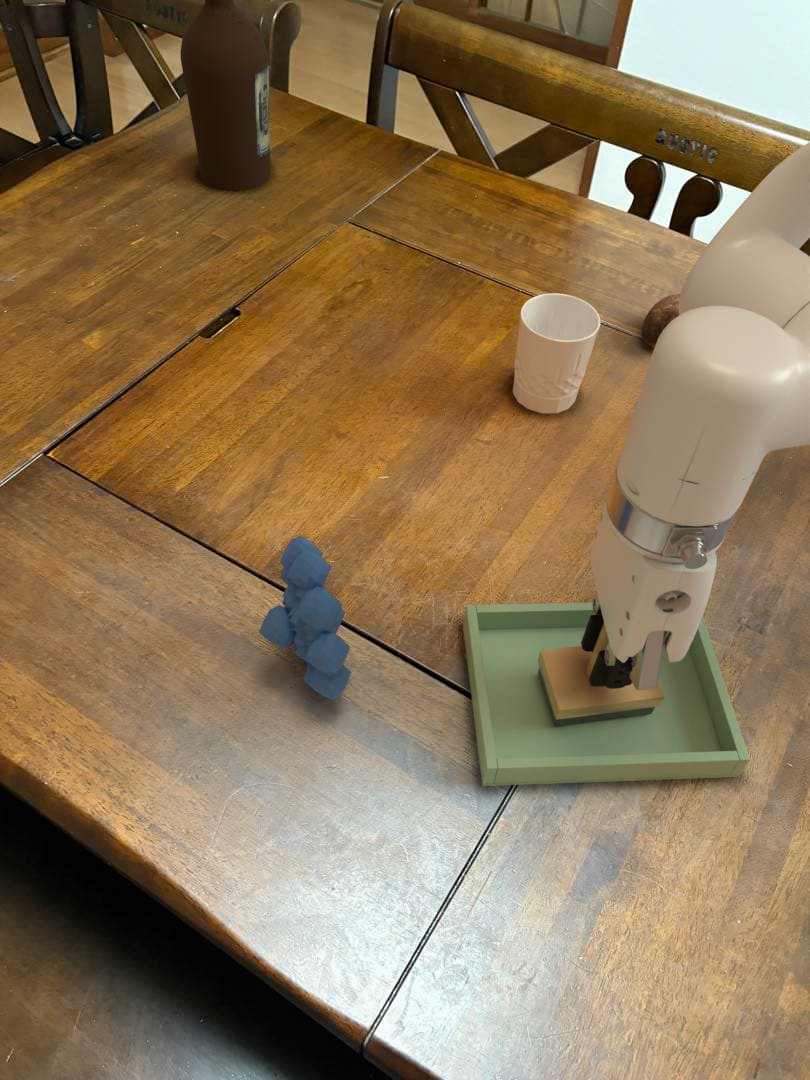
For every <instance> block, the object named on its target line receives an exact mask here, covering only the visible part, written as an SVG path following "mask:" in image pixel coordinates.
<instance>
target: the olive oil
mask: <svg viewBox="0 0 810 1080" xmlns="http://www.w3.org/2000/svg"><path fill="white" fill-rule="evenodd" d="M180 63H181V70H182V76H183V80H184V85H185V90H186V96H187V101H188V108H189V113H190V117H191V118H190V119H191V124H192V130H193V136H194V142H195V148H196V155H197V161H198V168H199V174H200V178H201V180H202V181H203V182H204V183H205V184H206V185H208V186H209V187H211V188H213V189H216V190H220V191H227V192H244V191H249V190H253V189H257V188H259V187H261V186H263V185H264V184H266V183H267V182H268V181H269V180H270V178H271V175H272V173H271V172H272V171H271V170H272V169H271V166H272V165H271V164H272V163H271V138H270V136H271V135H270V134H271V132H270V129H271V128H270V59H269V53H268V48H267V44H266V42H265V40H264V36H263V35H262V33H261V31H260V29H258V27H257V26H256V25H255V23H253V22H252V20H250V18H249V17H247V15H246V14H244V12H243V11H242V10H241V9H240V8H239V7H238V6H237V5H236V3H235V1H234V0H204V4H203V6H202V7H201V8H200V10H199V11H198V13H197V14H196V15H195V16H194V18H193V19H192V21H190V23H189V24H188V26H187V27H186V29H185V31H184V33H183V35H182V39H181V45H180Z"/></svg>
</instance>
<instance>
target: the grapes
mask: <svg viewBox="0 0 810 1080" xmlns="http://www.w3.org/2000/svg"><path fill="white" fill-rule="evenodd" d="M323 554H324V552H323V551H322V550H321V549H320V548H319V547H318V546H317V545H316V544H314V543H313V542H312V541H311V540H309V539H308V538H306V537H304V536H301V535H298V536H296V537H295V538H293V539H291V540H290V541H289V542H288V544H287V546H286V547H285V549H284V551H283V554H282V556H281V559H280V561H279V563H280V564H281V565H282V566H283V568H282V571H281V573H280V576H279V579H280V580H282V581H283V582H284V583H285V585H287V586H286V588H285V589H284V592H283V594H282V598H283V599H282V602H281V604H283V606H282V605H280V604H278V605H276V606H273V607H272V608H270V609H269V611H268V612H267V614H266V615H265V617H264V619H263V621H262V624H261V626H260V630H259V634H260V635H261V636H263V637H264V638H265V639H266V640H267V641H268V642H269V643H270V644H271V645H274V646H276V647H278V648H280V649H283V650H284V649H287V648H289V647H290V646H292V645H293V646H294V649H293V653H294V654H295V655H296V656H297V657H298V658H300V659H302V660H303V661H304V662H305V663H306V668H307V669H306V672H305V674H304V677H303V681H304V683H306V685H308V686H309V687H310V688H311V689H312V690H314V691H315V692H316V693H318V694H319V695H320V696H322V697H324V698H326V699H328V700H331V701H333V700H337V699H338V698H340V696H341V695H342V694H343V693H344V691H345V689H346V688H347V685H348V682H349V679H350V677H351V674H352V672H351V670H349V668H347V667H346V666H345V665H344V664H345V663H346V659H347V657H348V654H349V652H350V649H351V646H350V645H349V644H348V643H347V641H345V640H344V639H343V638H342V637H340V636H339V634H337V633H338V631H339V629H340V627H341V624H342V622H343V620H344V617H345V614H346V611H345V610H344V608H343V603H342V602H341V601H340V600H339V599H338V598H337V597H336V596H335V595H334V594H332V592H330V591H328V590H327V589H326V586H325V585H324V584H325V583H326V581H327V579H328V576H329V573H330V571H331V570H332V566H331V564H330V563H329V562H328V561H327V560H326V559H324V557H323Z"/></svg>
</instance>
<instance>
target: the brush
mask: <svg viewBox="0 0 810 1080" xmlns="http://www.w3.org/2000/svg"><path fill="white" fill-rule="evenodd" d="M608 641H609V639H608V635H607V631H606V627H605V624H604V623H603V626H602V628H601V631H600V634H599V636H598V639H597V642H596V644H595V647H594V650H593V652H586V651H585V650H583V649H582V646H574V647H566V648H557V649H549V650H541V651H540V654H539V658H538V663H539V670H538V676H539V679H540V682H541V685H542V689H543V692H544V695H545V698H546V702H547V705H548V708H549V711H550V715H551V718H552V721H553V725H554V727H557V726H565V725H572V724H580V723H588V722H595V721H603V720H610V719H618V718H626V717H633V716H641V715H649V714H652V712H653V710H654V708H655V707H658V706H660V705H661V703H662V701H663V699H664V697H665V696H664V694H663V691H662V689H661V686H660V684H659V681H657V687H656V689H655V690H636V688H635V686H634V685H633V683H632V684H631V685H628V686H625V687H623V688H618V689H609V688H607V687H606V686H598V687H593V686H591V685H590V681H589V677H590V674H591V672H592V669H593V667H594V664H595V661H596V659H597V656H598V654H599V651H602V650H606V647H607V644H608Z"/></svg>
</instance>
